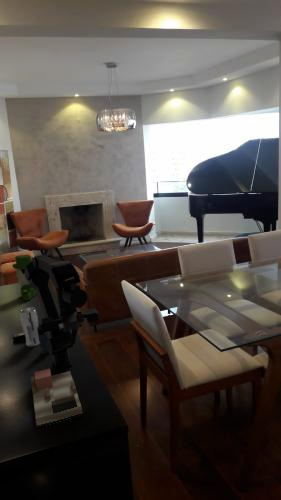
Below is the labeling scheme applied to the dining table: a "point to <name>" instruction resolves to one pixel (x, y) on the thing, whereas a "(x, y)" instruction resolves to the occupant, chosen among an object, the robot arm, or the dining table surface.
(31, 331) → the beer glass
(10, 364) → the dining table surface
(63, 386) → the deck
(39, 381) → the red block
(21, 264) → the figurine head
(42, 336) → the vaping device
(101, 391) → the dining table surface
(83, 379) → the dining table surface
